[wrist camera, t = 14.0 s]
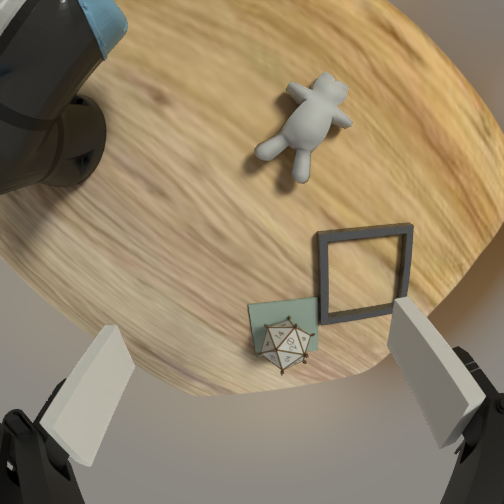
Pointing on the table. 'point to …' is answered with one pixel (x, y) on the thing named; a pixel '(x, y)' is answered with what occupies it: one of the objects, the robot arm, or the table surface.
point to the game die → (285, 344)
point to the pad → (285, 318)
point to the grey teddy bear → (308, 123)
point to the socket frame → (356, 233)
